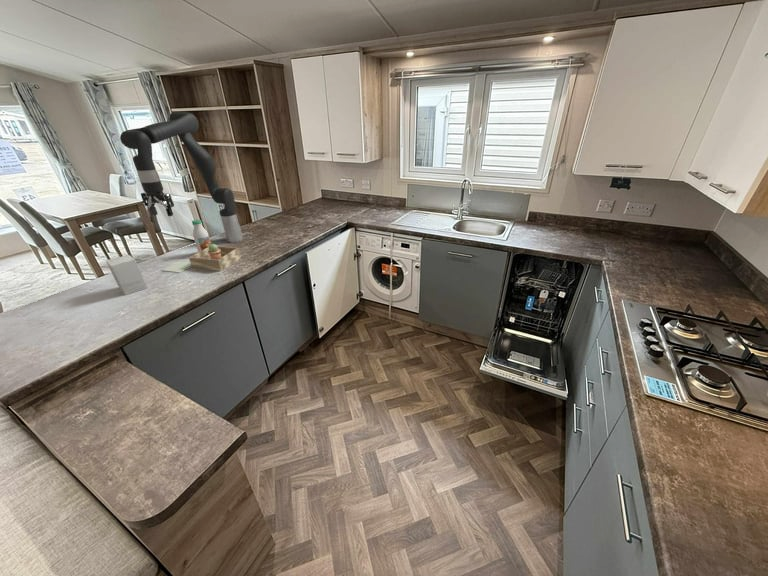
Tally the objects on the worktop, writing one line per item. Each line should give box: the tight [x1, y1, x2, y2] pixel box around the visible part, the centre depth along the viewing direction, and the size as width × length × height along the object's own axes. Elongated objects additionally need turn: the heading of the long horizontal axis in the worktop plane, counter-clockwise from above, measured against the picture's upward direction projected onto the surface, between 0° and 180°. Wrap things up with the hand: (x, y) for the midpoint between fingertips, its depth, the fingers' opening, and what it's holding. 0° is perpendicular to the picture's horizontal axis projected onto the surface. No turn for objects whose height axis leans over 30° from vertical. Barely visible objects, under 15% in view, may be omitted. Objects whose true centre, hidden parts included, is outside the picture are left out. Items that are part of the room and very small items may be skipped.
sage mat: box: [161, 261, 192, 274], centre depth 160 cm, size 11×11×1 cm
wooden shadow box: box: [188, 245, 242, 272], centre depth 165 cm, size 18×18×6 cm
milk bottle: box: [191, 219, 212, 253], centre depth 172 cm, size 8×8×20 cm
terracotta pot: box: [208, 243, 223, 260], centre depth 163 cm, size 6×6×11 cm
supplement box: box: [105, 254, 148, 296], centre depth 136 cm, size 9×9×15 cm
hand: (163, 215), depth 143 cm, fingers open, 8 cm apart
